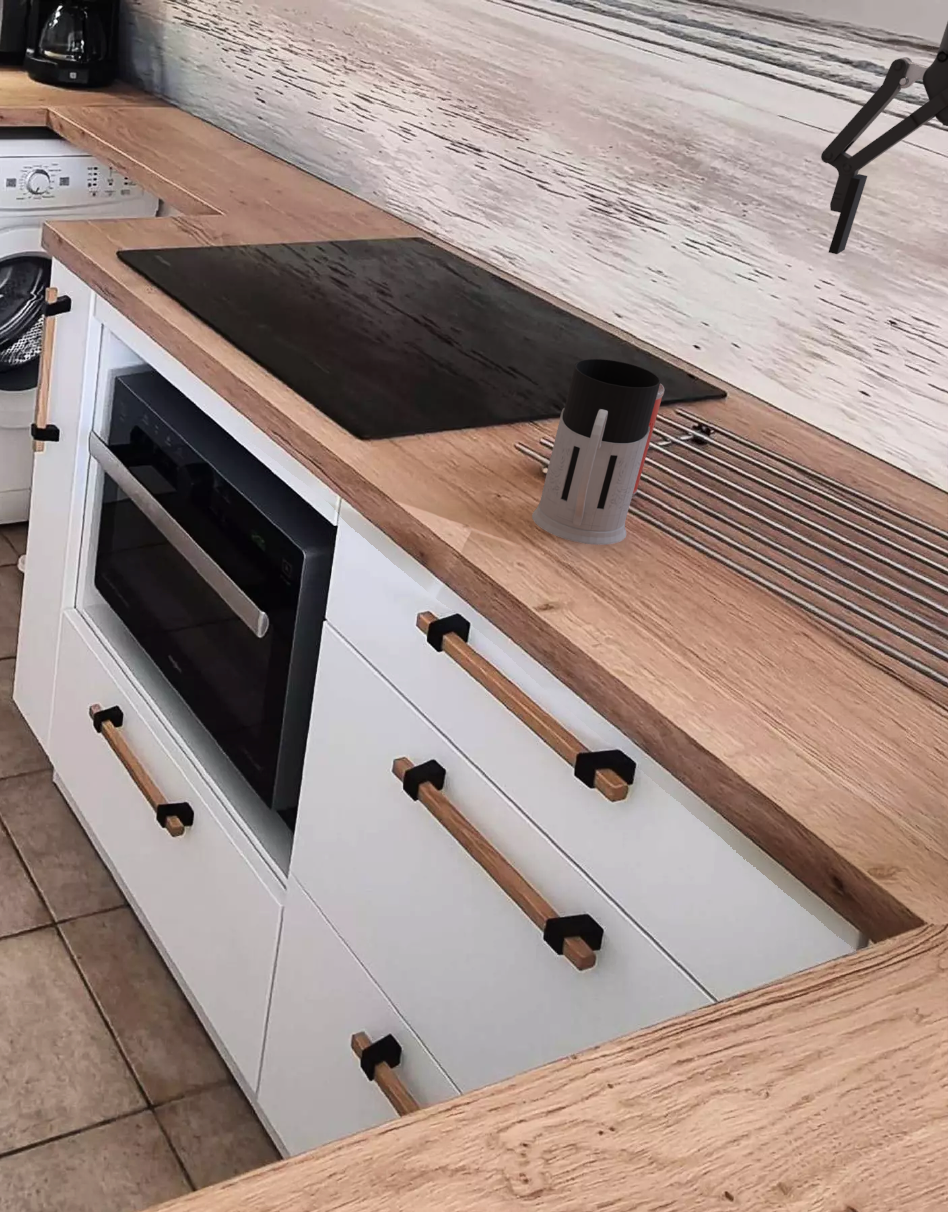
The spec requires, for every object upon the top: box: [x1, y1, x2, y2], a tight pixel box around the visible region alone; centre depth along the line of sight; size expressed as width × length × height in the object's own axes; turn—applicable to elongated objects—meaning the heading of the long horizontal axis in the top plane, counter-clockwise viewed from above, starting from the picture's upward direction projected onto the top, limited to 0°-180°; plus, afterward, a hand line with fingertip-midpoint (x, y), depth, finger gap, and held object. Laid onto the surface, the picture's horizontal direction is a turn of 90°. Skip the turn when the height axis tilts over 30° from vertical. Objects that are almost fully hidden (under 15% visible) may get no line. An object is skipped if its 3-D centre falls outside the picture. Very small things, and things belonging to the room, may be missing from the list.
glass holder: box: [531, 358, 661, 546], centre depth 141 cm, size 9×14×15 cm, turn 158°
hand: (916, 270), depth 137 cm, fingers open, 13 cm apart
